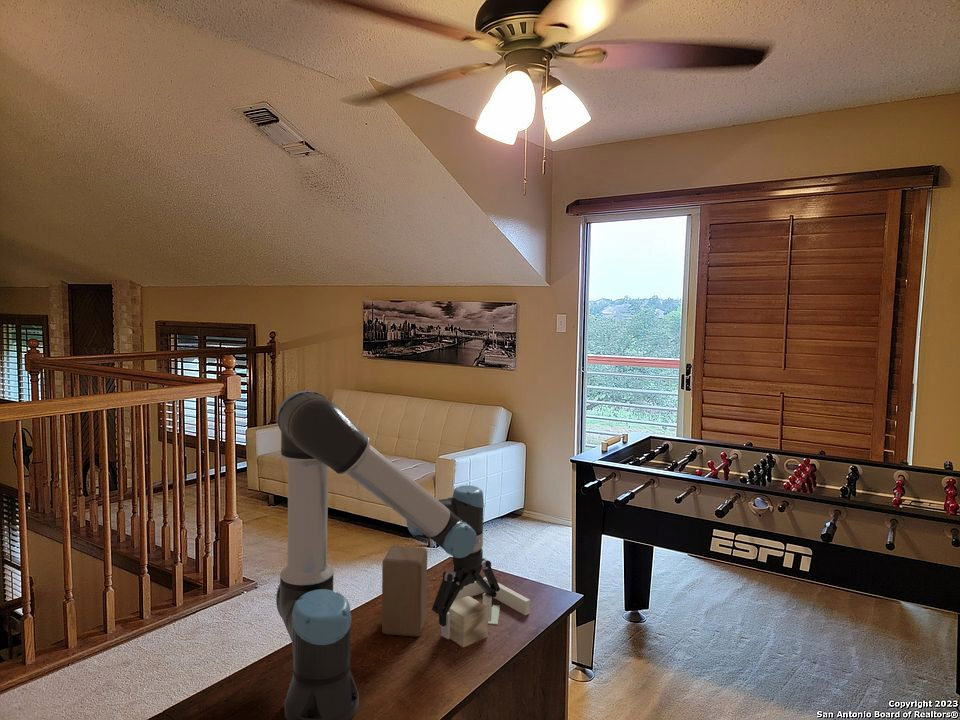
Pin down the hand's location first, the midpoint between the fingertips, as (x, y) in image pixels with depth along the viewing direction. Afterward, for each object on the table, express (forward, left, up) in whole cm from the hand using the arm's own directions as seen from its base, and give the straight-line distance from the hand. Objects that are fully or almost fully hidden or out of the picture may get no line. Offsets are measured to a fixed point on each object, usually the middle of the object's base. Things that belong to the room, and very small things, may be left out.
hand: (466, 627), depth 169 cm
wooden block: (-10, +13, -2) cm, 17 cm away
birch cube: (0, 0, -2) cm, 2 cm away
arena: (+12, +7, -2) cm, 14 cm away
